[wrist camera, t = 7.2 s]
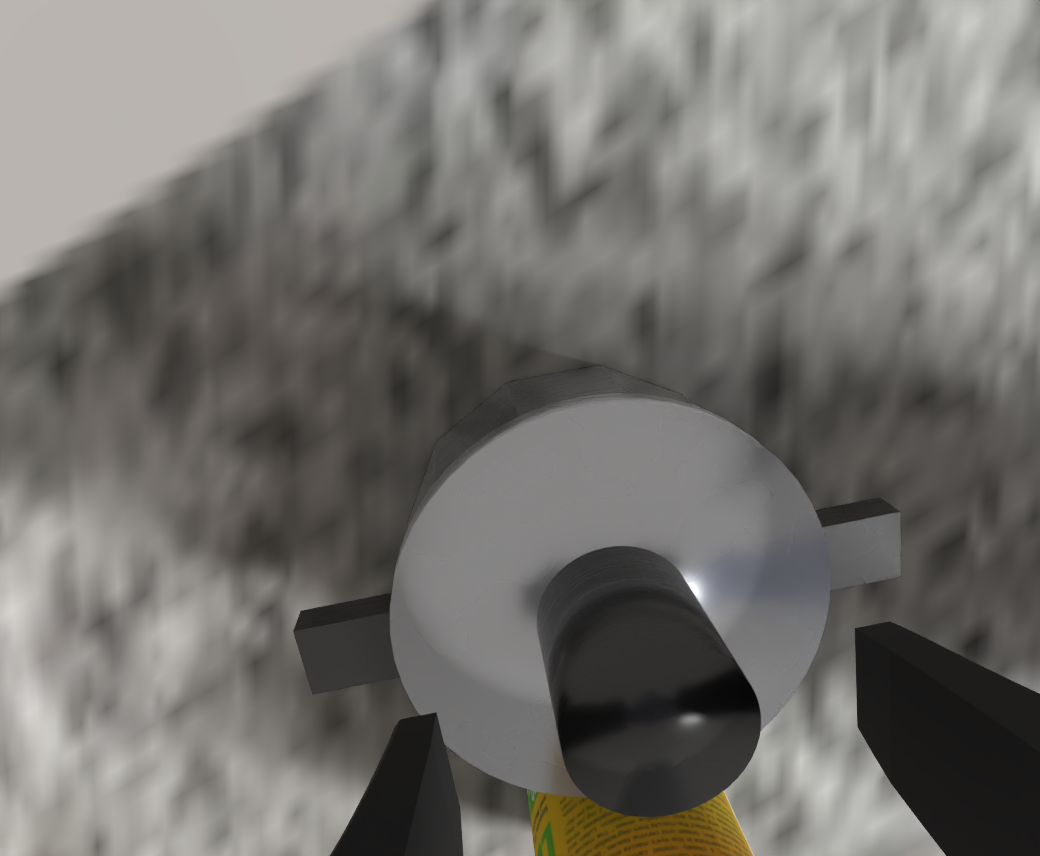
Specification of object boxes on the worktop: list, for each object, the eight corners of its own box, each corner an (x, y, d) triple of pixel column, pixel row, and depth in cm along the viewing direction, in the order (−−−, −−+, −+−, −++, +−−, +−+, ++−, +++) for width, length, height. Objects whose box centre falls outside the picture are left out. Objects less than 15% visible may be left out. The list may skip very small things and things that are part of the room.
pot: (812, 325, 18) (908, 358, 14) (824, 620, 21) (908, 713, 17) (287, 423, 18) (242, 483, 14) (367, 712, 20) (349, 829, 16)
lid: (806, 355, 14) (943, 415, 10) (821, 730, 17) (932, 890, 13) (347, 439, 14) (306, 532, 10) (438, 808, 16) (434, 995, 13)
